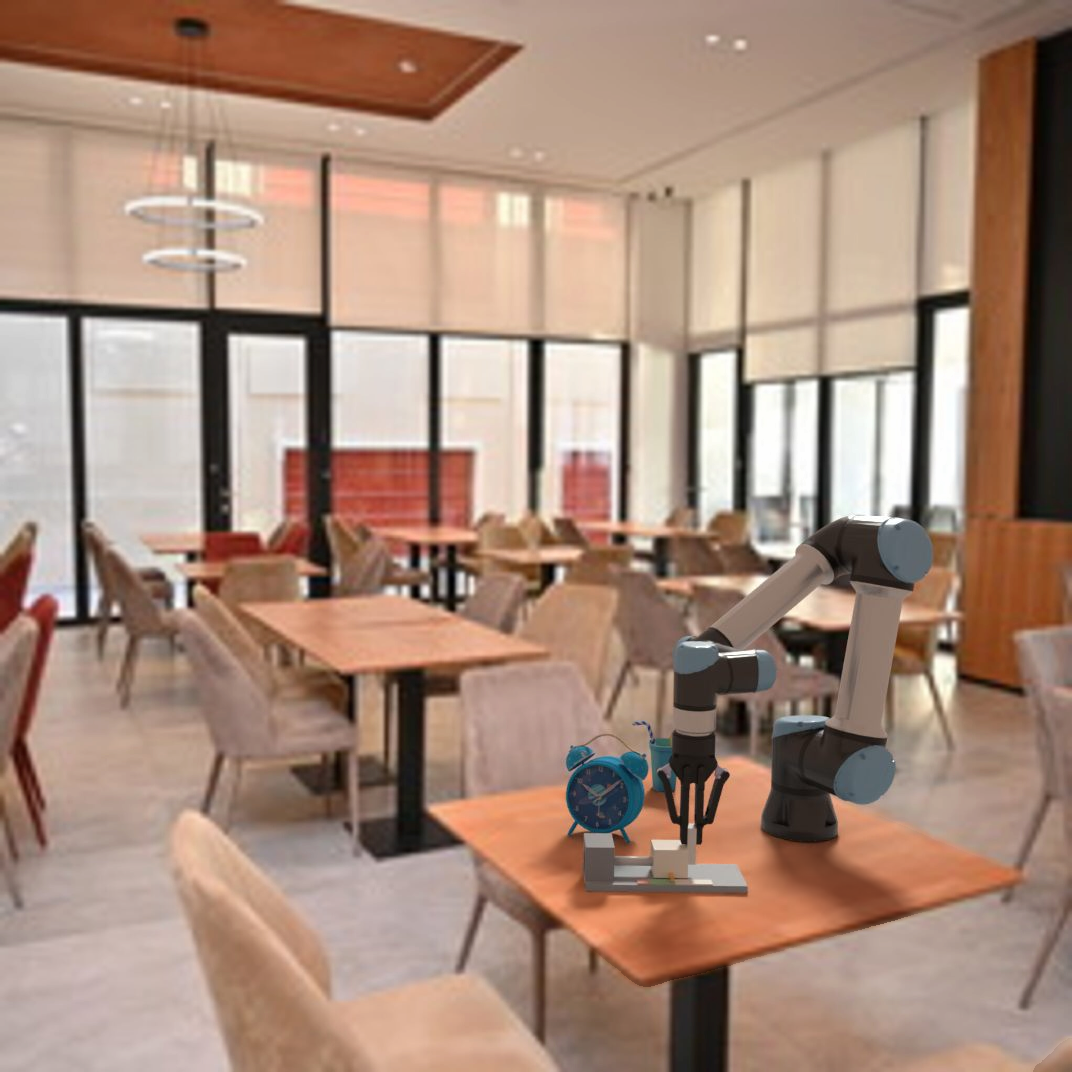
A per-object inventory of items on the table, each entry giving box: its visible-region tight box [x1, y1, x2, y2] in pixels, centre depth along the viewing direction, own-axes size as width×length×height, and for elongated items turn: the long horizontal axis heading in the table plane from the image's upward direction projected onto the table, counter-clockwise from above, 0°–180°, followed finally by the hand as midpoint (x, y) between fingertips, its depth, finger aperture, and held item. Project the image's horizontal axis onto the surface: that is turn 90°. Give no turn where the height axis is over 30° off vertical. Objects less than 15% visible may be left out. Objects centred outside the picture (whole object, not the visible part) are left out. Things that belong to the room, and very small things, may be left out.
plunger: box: [614, 839, 689, 881], centre depth 188 cm, size 14×7×5 cm, turn 90°
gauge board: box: [582, 832, 749, 894], centre depth 189 cm, size 28×10×7 cm, turn 90°
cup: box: [631, 720, 678, 793], centre depth 241 cm, size 14×8×15 cm, turn 65°
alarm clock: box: [565, 732, 650, 845], centre depth 210 cm, size 17×10×20 cm, turn 70°
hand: (690, 861), depth 188 cm, fingers closed
